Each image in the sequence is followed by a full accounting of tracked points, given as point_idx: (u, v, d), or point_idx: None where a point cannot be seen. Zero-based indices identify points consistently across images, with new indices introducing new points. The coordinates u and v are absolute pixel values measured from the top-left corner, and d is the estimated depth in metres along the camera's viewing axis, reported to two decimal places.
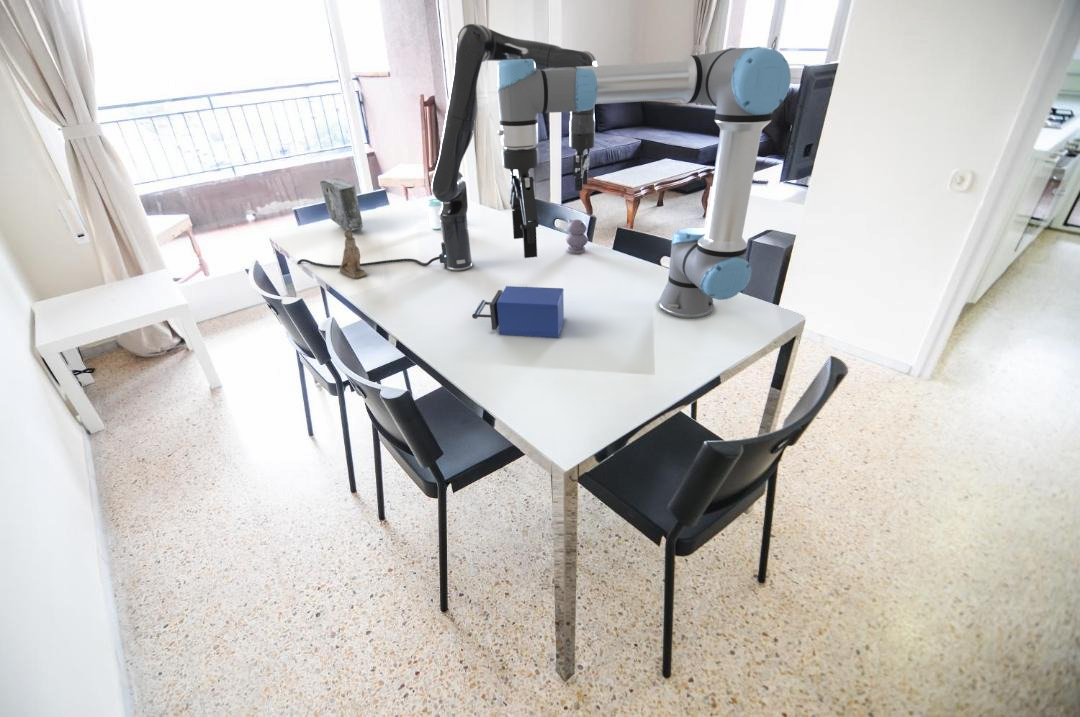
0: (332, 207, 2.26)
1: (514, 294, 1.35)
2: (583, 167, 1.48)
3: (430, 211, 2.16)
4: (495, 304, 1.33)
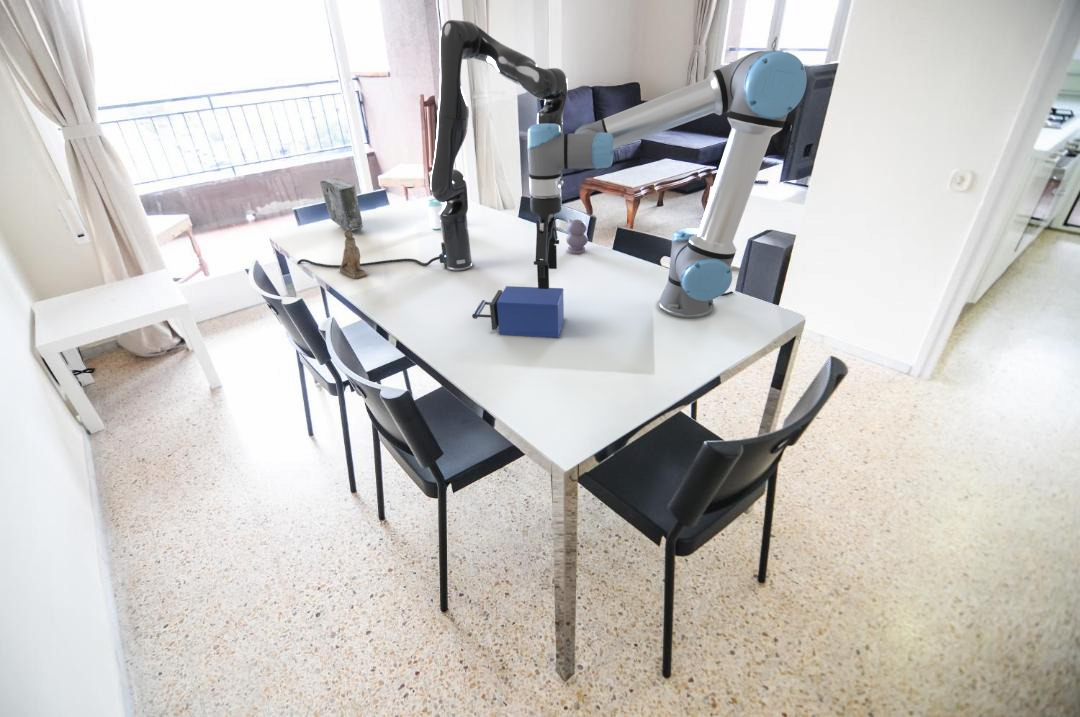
0: (332, 207, 2.26)
1: (514, 294, 1.35)
2: None
3: (430, 211, 2.16)
4: (495, 304, 1.33)
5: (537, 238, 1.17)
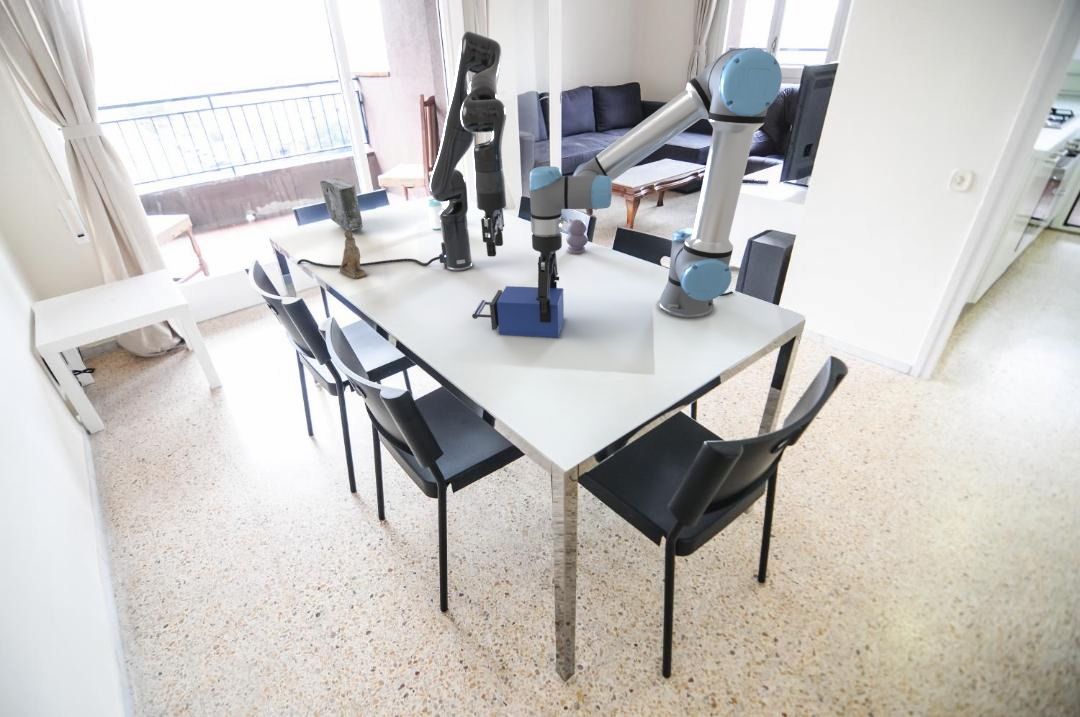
0: (332, 207, 2.26)
1: (514, 294, 1.35)
2: None
3: (430, 211, 2.16)
4: (495, 304, 1.33)
5: (539, 276, 1.23)
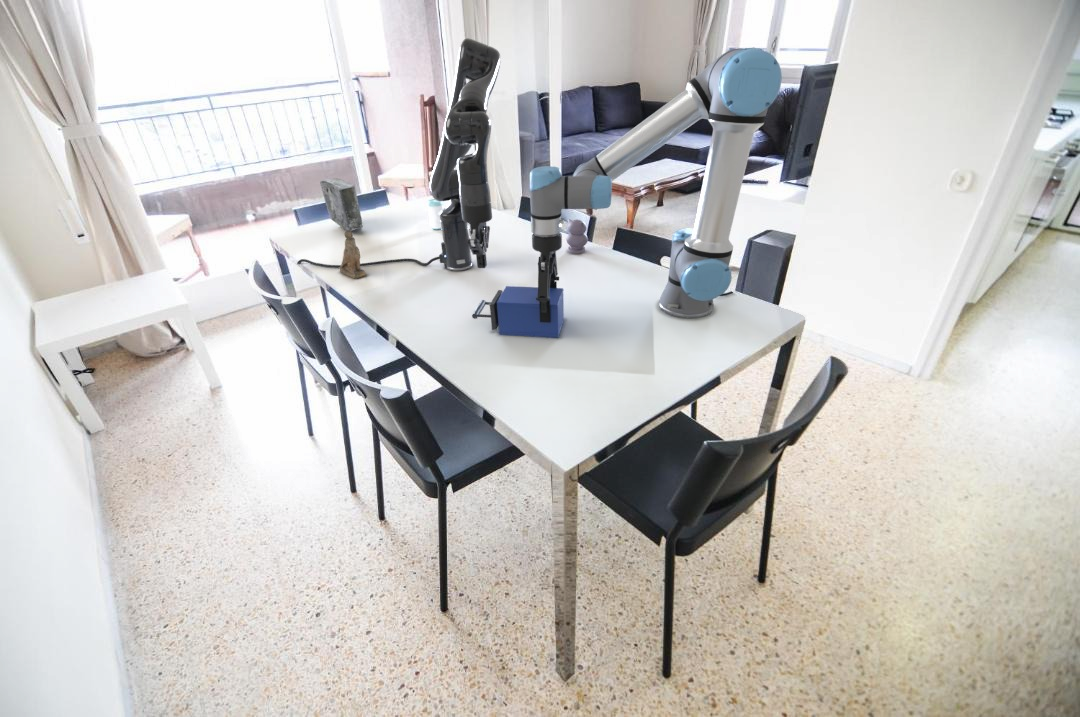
0: (332, 207, 2.26)
1: (514, 294, 1.35)
2: None
3: (430, 211, 2.16)
4: (495, 304, 1.33)
5: (539, 276, 1.23)
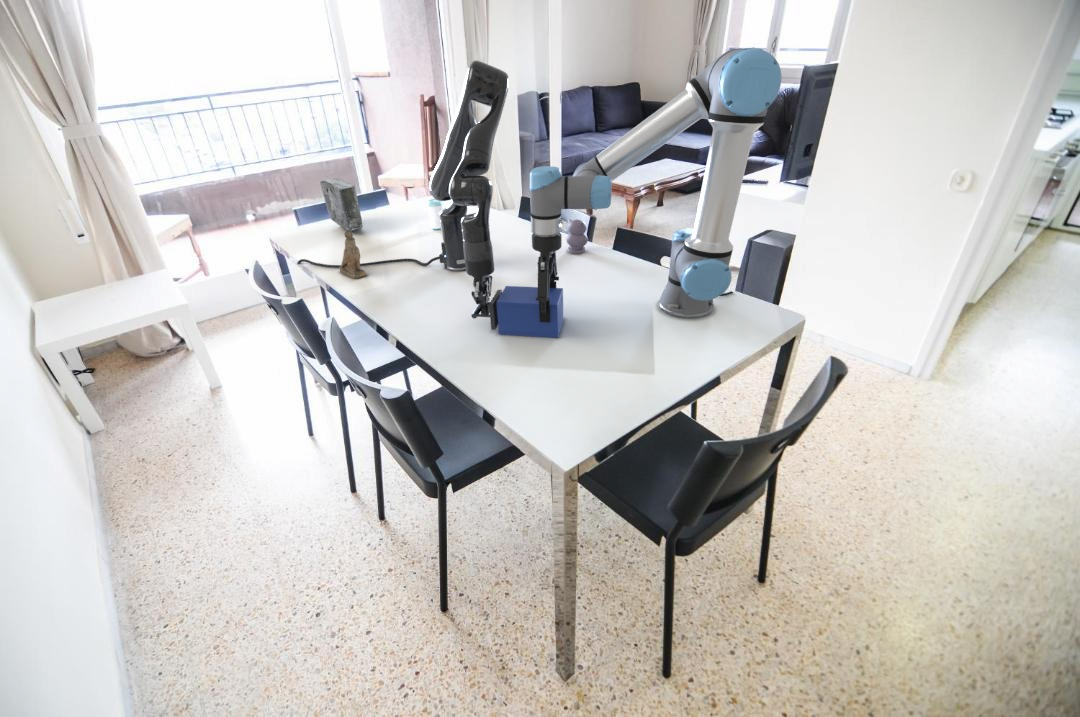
0: (332, 207, 2.26)
1: (514, 294, 1.35)
2: None
3: (430, 211, 2.16)
4: (494, 304, 1.34)
5: (538, 276, 1.23)
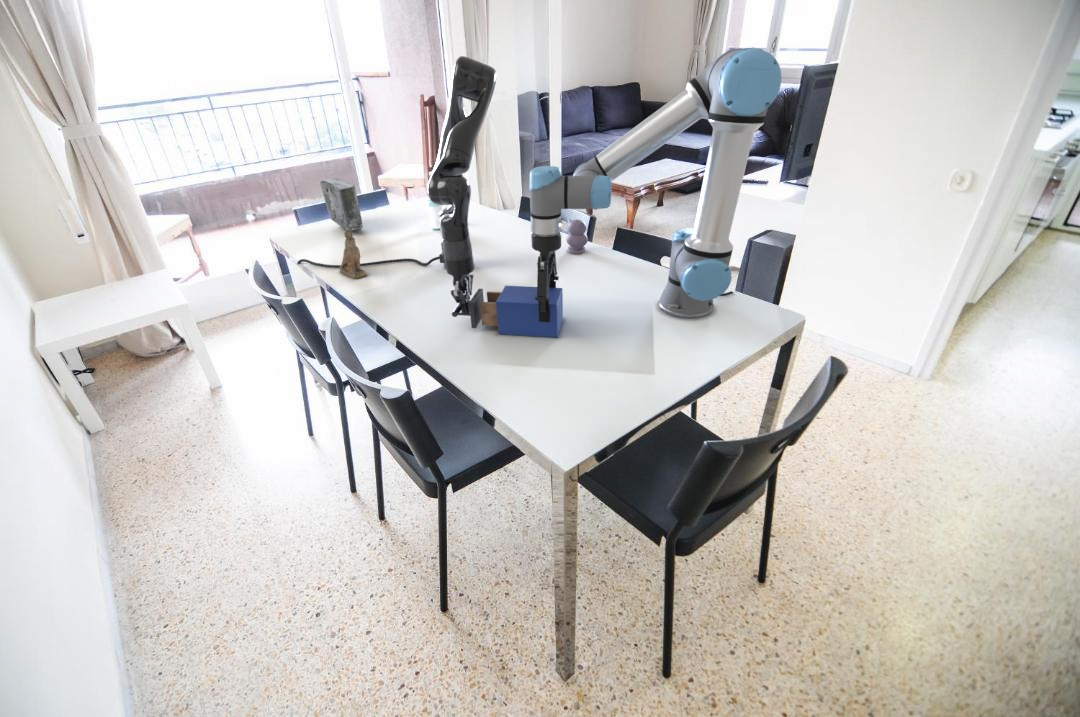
0: (332, 207, 2.26)
1: (514, 293, 1.35)
2: None
3: (430, 211, 2.16)
4: (474, 302, 1.34)
5: (538, 276, 1.23)
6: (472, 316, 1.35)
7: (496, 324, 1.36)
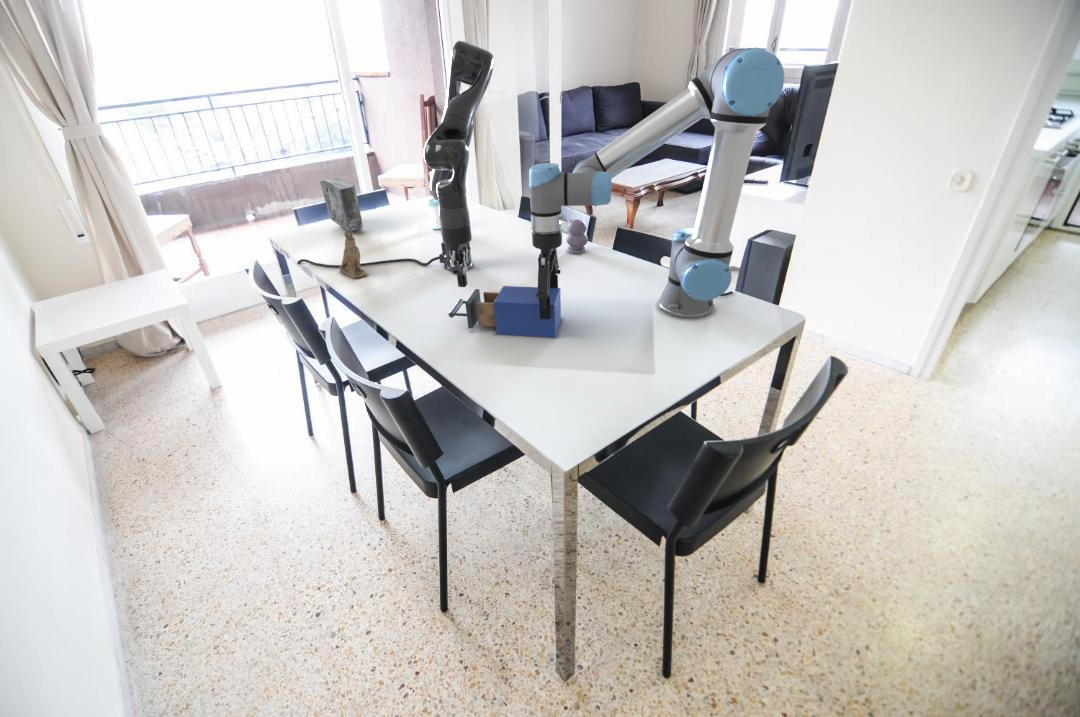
0: (332, 207, 2.26)
1: (511, 294, 1.35)
2: None
3: (430, 211, 2.16)
4: (471, 303, 1.35)
5: (539, 272, 1.22)
6: (469, 316, 1.35)
7: (493, 324, 1.36)
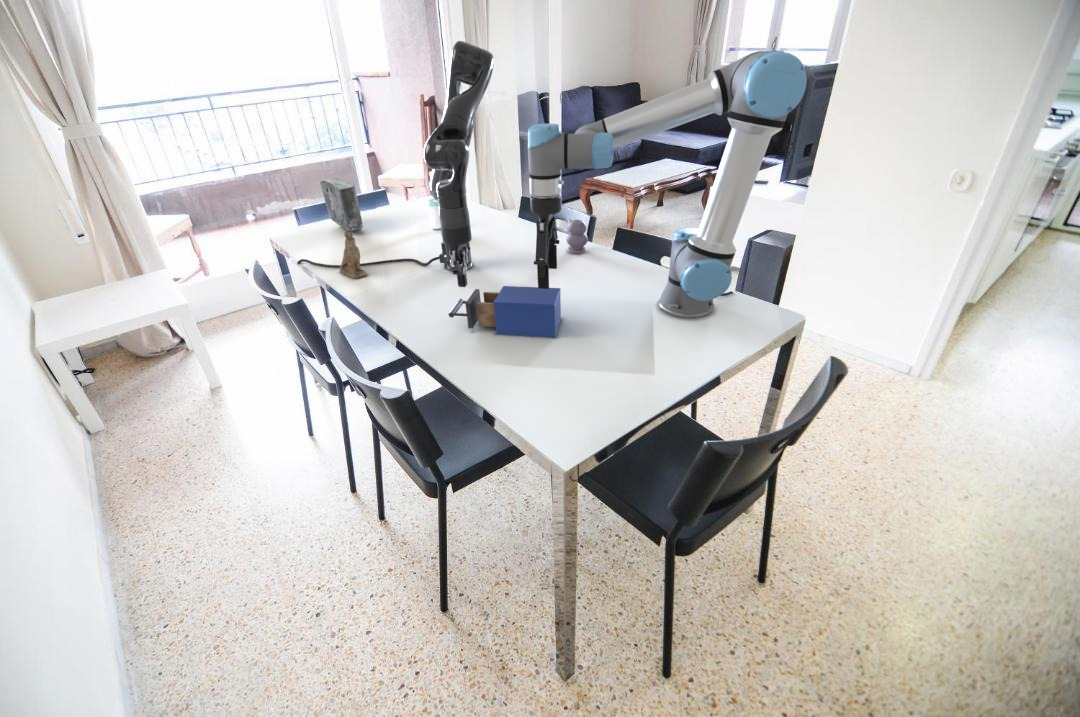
0: (332, 207, 2.26)
1: (511, 294, 1.35)
2: None
3: (430, 211, 2.16)
4: (471, 303, 1.35)
5: (537, 238, 1.17)
6: (469, 316, 1.35)
7: (493, 324, 1.36)
